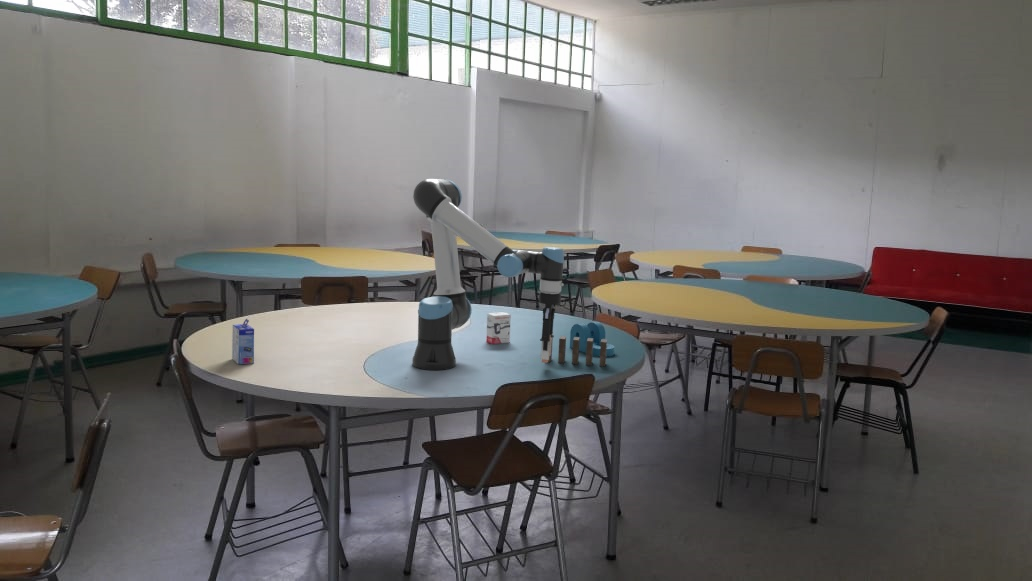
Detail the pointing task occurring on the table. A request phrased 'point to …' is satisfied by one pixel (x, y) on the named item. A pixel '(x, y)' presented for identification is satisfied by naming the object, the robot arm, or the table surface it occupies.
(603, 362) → the tile
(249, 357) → the ink cartridge box
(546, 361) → the tile
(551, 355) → the tile
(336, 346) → the table surface
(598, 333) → the camera mount
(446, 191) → the robot arm
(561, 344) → the tile
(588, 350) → the tile
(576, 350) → the tile
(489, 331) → the ink box
